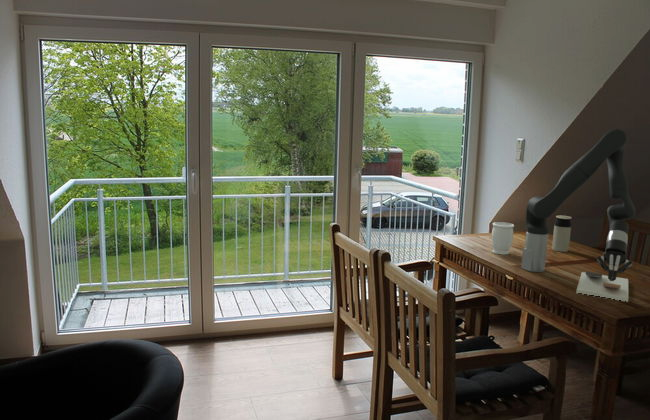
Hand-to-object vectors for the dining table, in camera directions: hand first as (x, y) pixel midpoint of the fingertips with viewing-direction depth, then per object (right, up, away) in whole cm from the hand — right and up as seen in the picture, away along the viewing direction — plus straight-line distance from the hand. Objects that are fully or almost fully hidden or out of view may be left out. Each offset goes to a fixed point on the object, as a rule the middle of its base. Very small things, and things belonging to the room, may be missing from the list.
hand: (611, 280), depth 212 cm
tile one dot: (+4, -1, +21) cm, 21 cm away
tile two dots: (+3, -4, +7) cm, 8 cm away
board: (+2, -4, +10) cm, 11 cm away
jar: (-23, +6, +62) cm, 67 cm away
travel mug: (+11, +6, +71) cm, 72 cm away
